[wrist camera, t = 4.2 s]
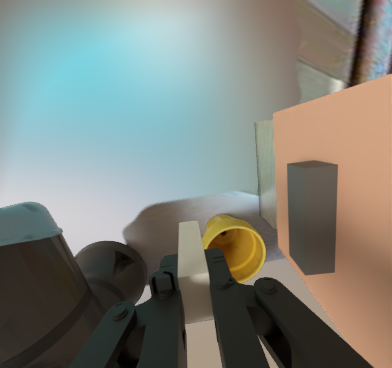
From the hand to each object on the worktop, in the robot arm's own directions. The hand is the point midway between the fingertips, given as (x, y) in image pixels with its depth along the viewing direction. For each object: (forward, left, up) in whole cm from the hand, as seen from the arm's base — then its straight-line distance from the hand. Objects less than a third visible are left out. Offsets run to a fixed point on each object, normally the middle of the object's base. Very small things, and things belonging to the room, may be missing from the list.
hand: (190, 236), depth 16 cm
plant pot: (+6, -11, -23) cm, 26 cm away
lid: (+13, 0, -2) cm, 13 cm away
